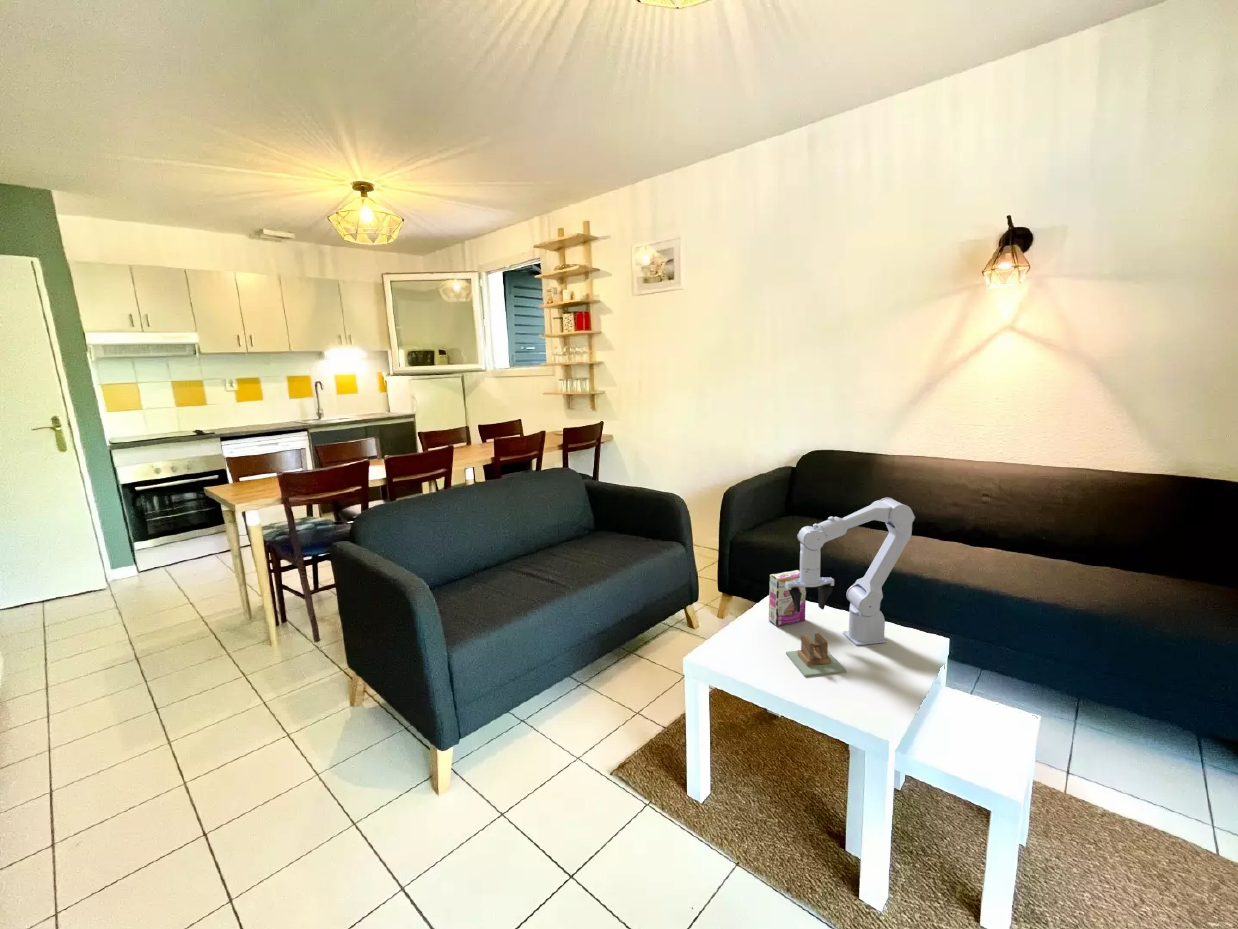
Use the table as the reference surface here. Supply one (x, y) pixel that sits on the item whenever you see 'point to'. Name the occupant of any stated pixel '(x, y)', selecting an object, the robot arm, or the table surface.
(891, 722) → the table surface
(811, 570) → the robot arm
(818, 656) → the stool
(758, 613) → the table surface
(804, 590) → the candy bar box
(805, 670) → the mat
